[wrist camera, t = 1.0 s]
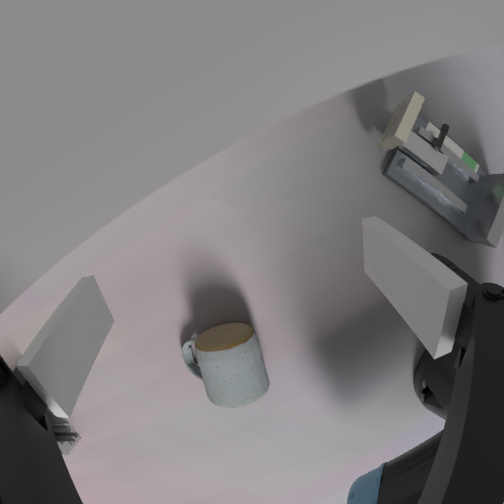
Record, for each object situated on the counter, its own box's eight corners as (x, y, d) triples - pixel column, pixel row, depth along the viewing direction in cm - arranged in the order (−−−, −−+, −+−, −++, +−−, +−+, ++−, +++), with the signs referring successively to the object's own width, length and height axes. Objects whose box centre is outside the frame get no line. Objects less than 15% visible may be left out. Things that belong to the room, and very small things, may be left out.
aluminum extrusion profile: (-3, 396, 47) (-24, 412, 38) (41, 382, 42) (12, 406, 33) (27, 438, 49) (8, 456, 39) (82, 436, 44) (59, 464, 34)
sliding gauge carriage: (450, 138, 27) (480, 129, 21) (429, 187, 29) (459, 186, 22) (397, 98, 27) (420, 79, 21) (373, 147, 29) (394, 135, 22)
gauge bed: (491, 183, 29) (519, 183, 23) (467, 240, 30) (495, 247, 24) (411, 114, 29) (433, 100, 23) (382, 174, 30) (403, 169, 24)
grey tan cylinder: (257, 314, 35) (249, 343, 27) (272, 370, 36) (267, 407, 28) (177, 327, 36) (153, 354, 29) (196, 379, 37) (178, 413, 30)
